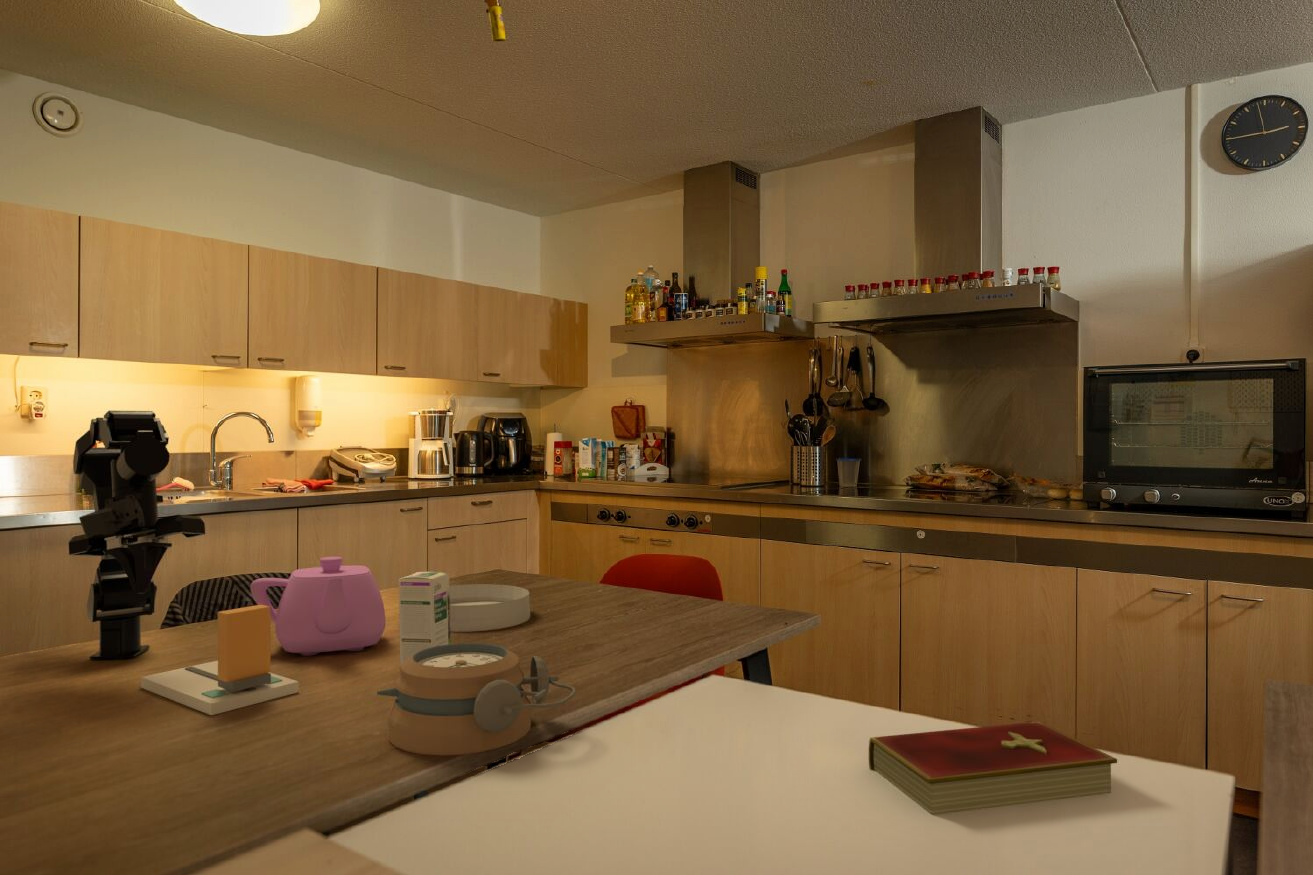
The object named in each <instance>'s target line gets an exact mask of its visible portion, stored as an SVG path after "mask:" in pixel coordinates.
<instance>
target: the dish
mask: <svg viewBox="0 0 1313 875" xmlns="http://www.w3.org/2000/svg"><path fill="white" fill-rule="evenodd" d="M449 594H450V632H457V633H458V632H459V633H460V632H462V633H465V632H481V631H483V632H484V631H492V630H499V629H504V628H510V627H515V626H517V625H520V624H523V623H525V622H527V621H528V620H530V618H531V605H530V591H529V590H528V589H527V588H523V587H520V586H515V585H509V584H508V585H507V584H493V583H491V584H490V583H486V584H485V583H483V584H482V583H477V584H474V583H473V584H459V585H458V584H457V585H449Z"/></svg>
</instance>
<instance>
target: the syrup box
mask: <svg viewBox="0 0 1313 875" xmlns="http://www.w3.org/2000/svg"><path fill="white" fill-rule="evenodd" d="M449 586H450V573H449V572H443V571H416V572H415V573H411V574H410V575H407V576H404V577H400V578H399V579H398V612H399V613H398V620H399V621H398V623H399V624H398V625H399V628H398V629H399V666H400V665H401V664H402V663H403V661H405V660H406V659H408V658H409V657H411V656H413V655H414V654H416V653H417V652H419V651H422V650H424V649H427V648H431V647H435V646H441V645H448V644H451V631H450V594H449Z"/></svg>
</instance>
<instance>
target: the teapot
mask: <svg viewBox="0 0 1313 875" xmlns="http://www.w3.org/2000/svg"><path fill="white" fill-rule="evenodd" d="M343 560H344V558H343V557H341V556H325V557H321V558H320V559H319V563H320V566H315V567H307V568H306V567H305V568H298V569H295V570H294V571H293V572H291V574H290V576H289V578H278V577H262V578H258V579H255V580H253V581H252V582H251V584H250V593H251V596H252V599H253V600H254V601H255V603H256V605H265V606H270V620H272V621H273V623H275V629H274V630H275V635H276V638H277V640H278V642H279V644H280V646H281V647H282V649H283V650H284V652H287V653H291V654H293V653H294V654H295V653H296V654H300V656H314V655H318V654H320V653H325V652H327V653H328V652H336V651H344V650H345V651H347V652H357V651H362V650H364V648H365V647H366V648H367V647H371V646H373V645H376V644H378V643H379V641H380V639H381V638H382V636H383V634H384V631H385V629H386V626H387V625H386V621H387V620H386V613H385V612H386V611H385V605H384V601H383V598H382V594H381V591H380V589H379V586H378V584H377V581H376V579H375V577H374V575H373V573H372V571H371V570H370V568H369V567H368V566H366V565H353V564H352V565H342V564H343ZM270 587H284V590H283V592H282V595H281V598H280V600H279V604H278V607H277V611H276V609H275V608H274V606H273V605H272V603H271V601H270V599H269V597H268V595H267V589H268V588H270Z"/></svg>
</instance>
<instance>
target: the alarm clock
mask: <svg viewBox="0 0 1313 875" xmlns="http://www.w3.org/2000/svg"><path fill="white" fill-rule="evenodd" d="M530 659H531V661H530V672H529V675H530V676H529V677H525V674H524V672H523V671H522V669H521V667H520V657H518V655H517V654H515V653H514V652H512V651H511V650H508V649H507V648H504V647H503V646H500V645H497V644H496V645H495V644H492V643H491V644H489V643H483V642H482V643H479V642H467V643H466V642H462V643H461V642H459V643H450V644H448V645H441V646H435V647H431V648H427V649H424V650H422V651H419V652H417V653H416V654H414V655H413V656H411V657H409V658H408V659H406V660H405V661H403V663H402V664H401V665H400V664H399V676H398V677H397V679H396V680H395V683H394V686H395V687H391V688H385V689H382V690H377V692H376V695H377V696H388V697H395V699H394V702H393V705H392V706H391V708H390V709H389V710H388V714H387V737H388V741H389V742H390V743H391V744H392V745H393V746H394V747H396V748H397V749H399V750H403V751H406V752H409V753H413V754H420V755H424V756H425V755H427V756H441V757H442V756H459V755H460V756H461V755H462V756H463V755H468V754H476V753H477V754H478V753H483V752H487V751H492V750H495V749H500V748H502V747H505V746H508V745H510V744H511V745H512V744H513V743H515V742H517V741H519V740H520V739H522V738H524V737H525V736H526V735H527V734H528V733H529V731H530V730H531V725H532V724H531V723H532V708H534V709H535V708H537V709H539V708H542V709H544V708H553V707H558V706H561V705H563V704H565V703H568V702H569V701H570V700H571V699H573V697H575V694H577V690H576V688H575V687H574V686H572V685H570V684H563V683H559V682H558V681H559V680H560V676H559V675H550V673H549V671H548V670H549V669H548V667H547V663H546V662H545V660H544V659H543V658H542V657H540V656H537V655H535V656H532V657H531V658H530ZM550 684H551V685H552V686H554V687H557V688H562V689H567V690H569V691H571V693H570V694H568V695H567V696H566V697H565V698H563V699H561V700H559V701H556V702H551V703H549V702H548V703H544V702H545V700H546V699H547V697H548V693H549V688H550ZM522 685H530V691H527V690H524V688H523V687H522ZM527 696H528V697H529V696H531V698H532V702H533V703H531V701H530V699H529V698H528V697H527Z"/></svg>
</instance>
